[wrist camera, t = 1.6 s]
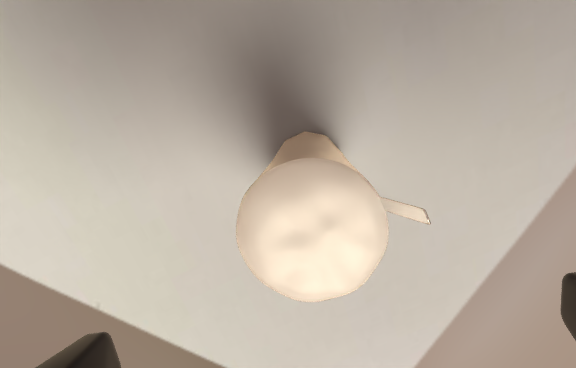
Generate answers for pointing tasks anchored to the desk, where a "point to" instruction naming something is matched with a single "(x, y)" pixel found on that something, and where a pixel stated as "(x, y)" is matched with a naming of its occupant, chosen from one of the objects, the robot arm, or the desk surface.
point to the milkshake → (314, 222)
